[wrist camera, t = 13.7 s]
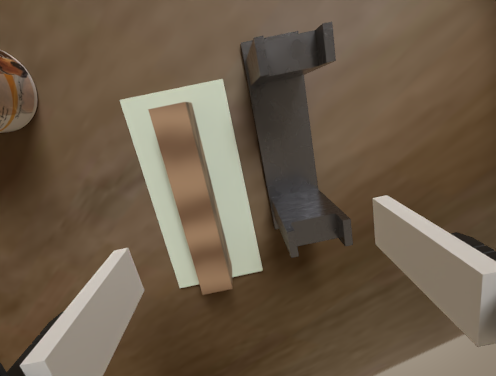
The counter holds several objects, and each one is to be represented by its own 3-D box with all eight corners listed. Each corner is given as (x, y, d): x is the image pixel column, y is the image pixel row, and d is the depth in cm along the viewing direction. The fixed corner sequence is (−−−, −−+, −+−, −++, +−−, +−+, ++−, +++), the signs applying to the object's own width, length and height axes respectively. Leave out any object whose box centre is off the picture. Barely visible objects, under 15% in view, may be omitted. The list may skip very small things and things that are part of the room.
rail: (160, 109, 34) (148, 109, 29) (191, 102, 34) (184, 101, 29) (206, 271, 41) (202, 294, 36) (231, 265, 41) (232, 288, 36)
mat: (121, 100, 34) (119, 100, 34) (222, 79, 34) (222, 78, 34) (180, 285, 42) (180, 288, 42) (262, 268, 42) (262, 270, 42)
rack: (240, 44, 33) (246, 10, 22) (296, 32, 33) (331, -7, 22) (274, 227, 41) (292, 274, 29) (320, 217, 41) (356, 260, 29)
